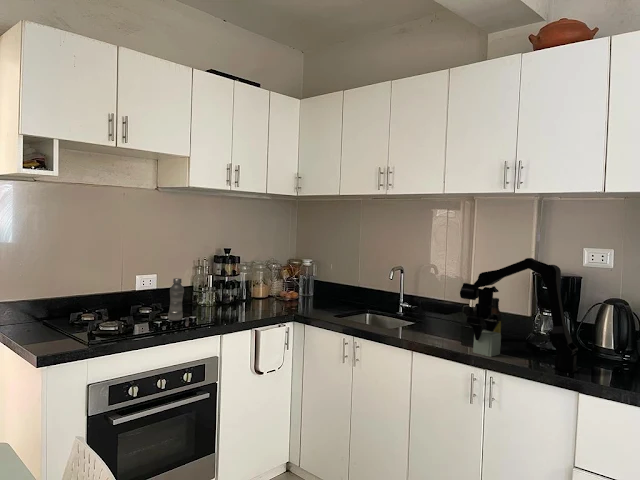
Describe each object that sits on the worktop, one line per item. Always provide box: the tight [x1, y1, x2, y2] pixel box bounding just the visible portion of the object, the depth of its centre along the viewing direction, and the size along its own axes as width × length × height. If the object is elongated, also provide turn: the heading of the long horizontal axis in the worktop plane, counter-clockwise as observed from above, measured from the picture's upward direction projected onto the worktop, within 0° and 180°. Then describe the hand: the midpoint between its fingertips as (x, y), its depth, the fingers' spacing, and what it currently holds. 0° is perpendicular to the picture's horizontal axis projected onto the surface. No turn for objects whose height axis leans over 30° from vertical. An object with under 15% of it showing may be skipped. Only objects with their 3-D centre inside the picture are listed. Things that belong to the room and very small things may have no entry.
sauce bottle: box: [492, 297, 502, 333], centre depth 233 cm, size 6×6×20 cm
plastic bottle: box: [167, 277, 185, 322], centre depth 234 cm, size 6×7×20 cm
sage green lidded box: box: [472, 329, 502, 357], centre depth 206 cm, size 8×8×9 cm
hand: (482, 338), depth 207 cm, fingers open, 9 cm apart
